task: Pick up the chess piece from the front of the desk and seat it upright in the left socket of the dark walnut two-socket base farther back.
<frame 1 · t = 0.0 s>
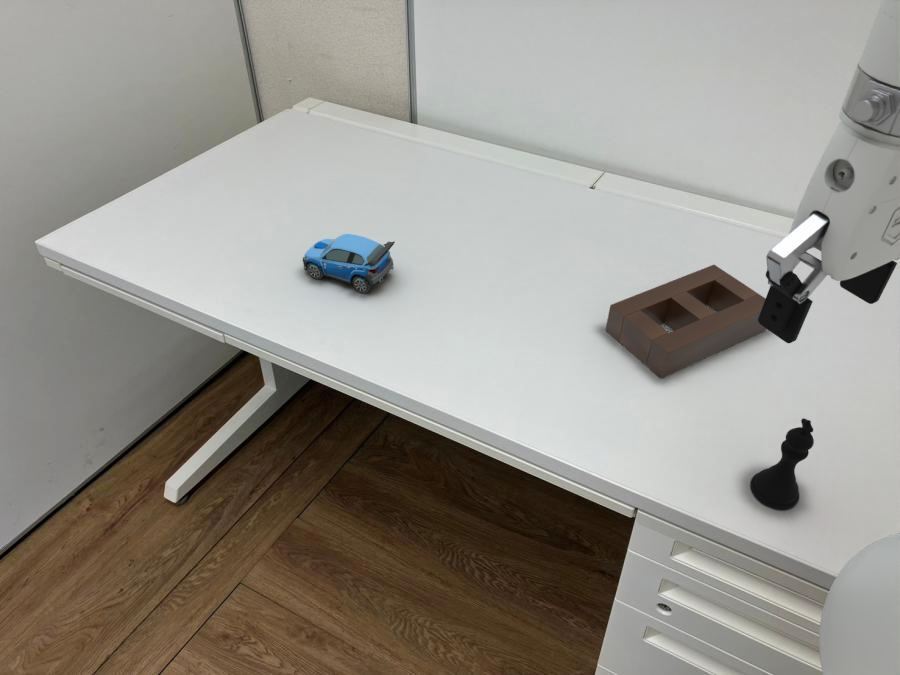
hand: (817, 312, 56), 20 cm above the table, tool pointing down, fingers open, 9 cm apart
toy car: (349, 276, 94), on the table
chess piece: (773, 492, 68), on the table
socket base: (685, 330, 86), on the table
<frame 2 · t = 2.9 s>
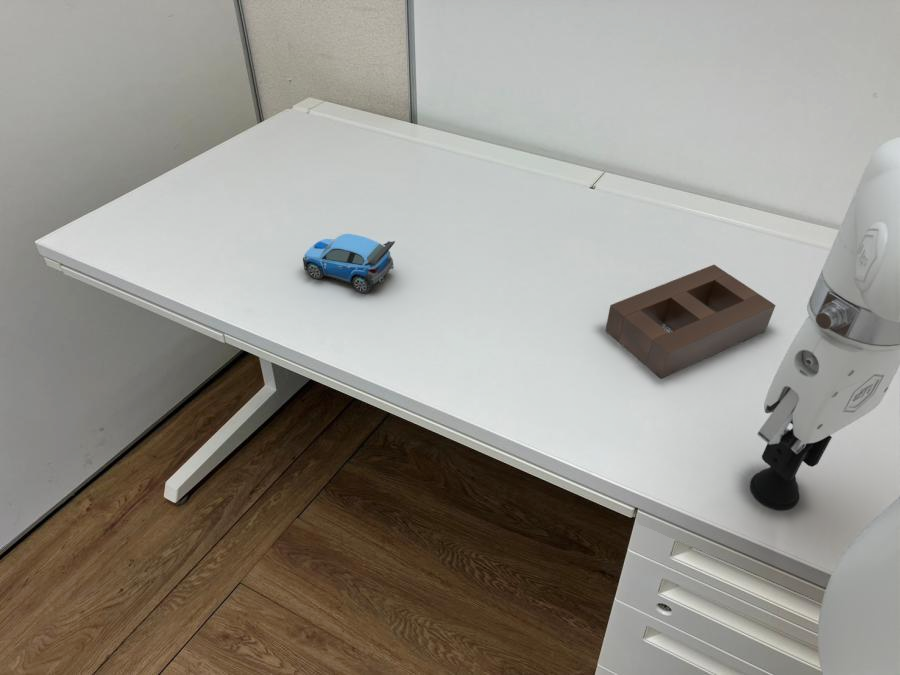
hand: (789, 460, 64), 5 cm above the table, tool pointing down, fingers closed on chess piece, 2 cm apart
chess piece: (773, 492, 68), on the table, touching gripper
everything else where it was.
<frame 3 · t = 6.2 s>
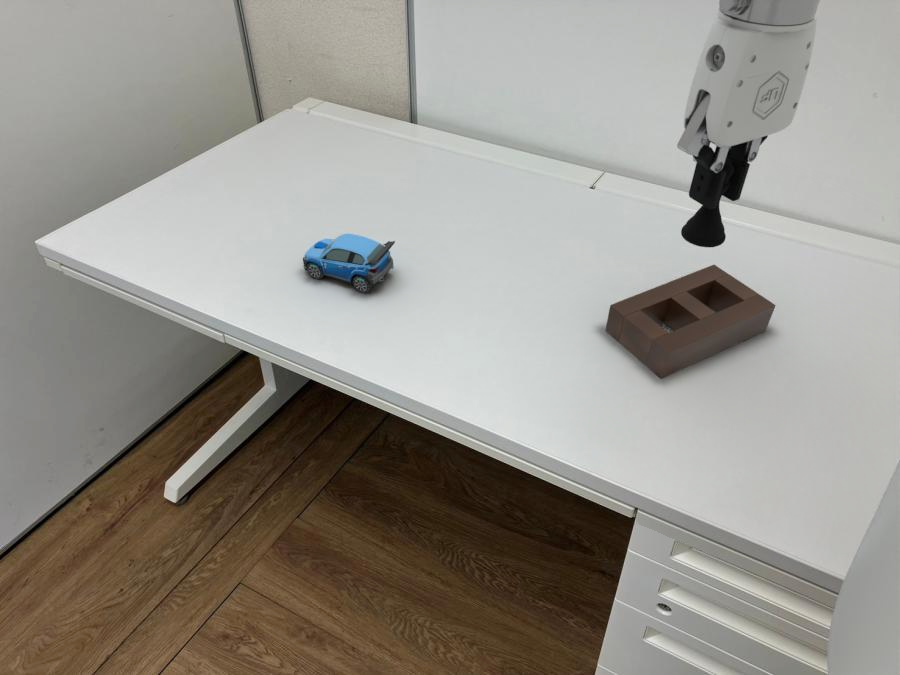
hand: (713, 197, 70), 20 cm above the table, tool pointing down, fingers closed on chess piece
chess piece: (702, 237, 73), point 16 cm above the table, touching gripper
everything else where it was.
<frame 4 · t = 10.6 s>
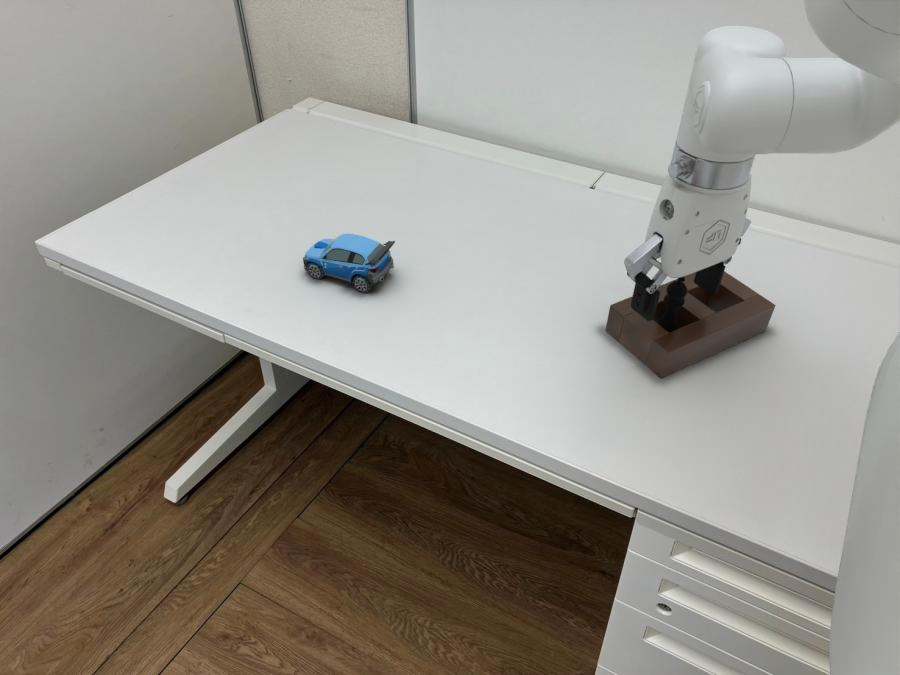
hand: (674, 300, 80), 6 cm above the table, tool pointing down, fingers open, 9 cm apart
chess piece: (663, 342, 84), resting in socket base
everything else where it was.
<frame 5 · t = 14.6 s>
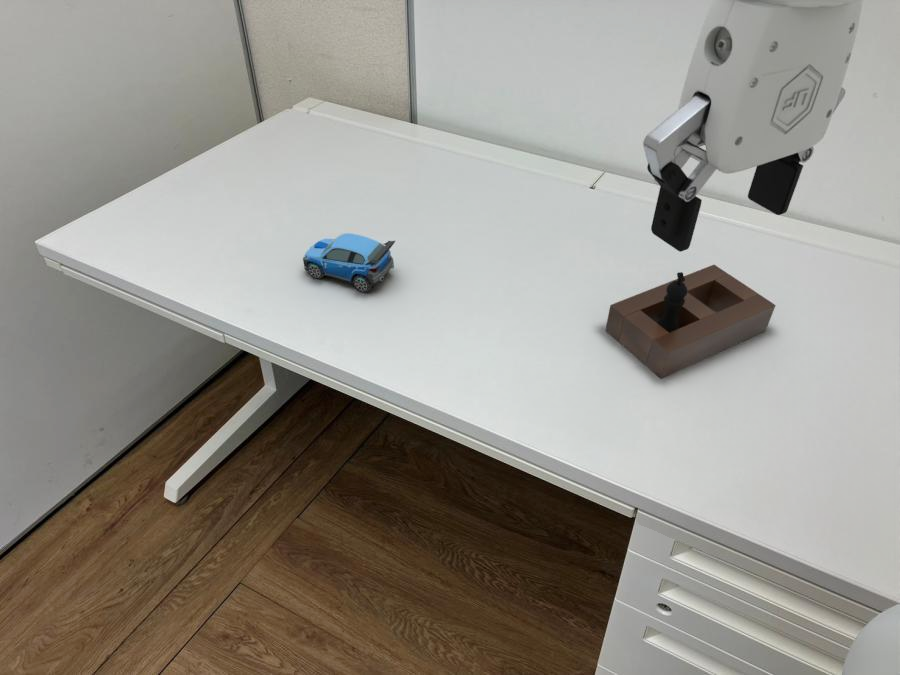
hand: (719, 223, 51), 28 cm above the table, tool pointing down, fingers open, 9 cm apart
nothing on the table moved.
at the end: chess piece 0.1 cm from the target spot in the socket base, point 0.0 cm above the socket base's base; chess piece tilted 0° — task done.
